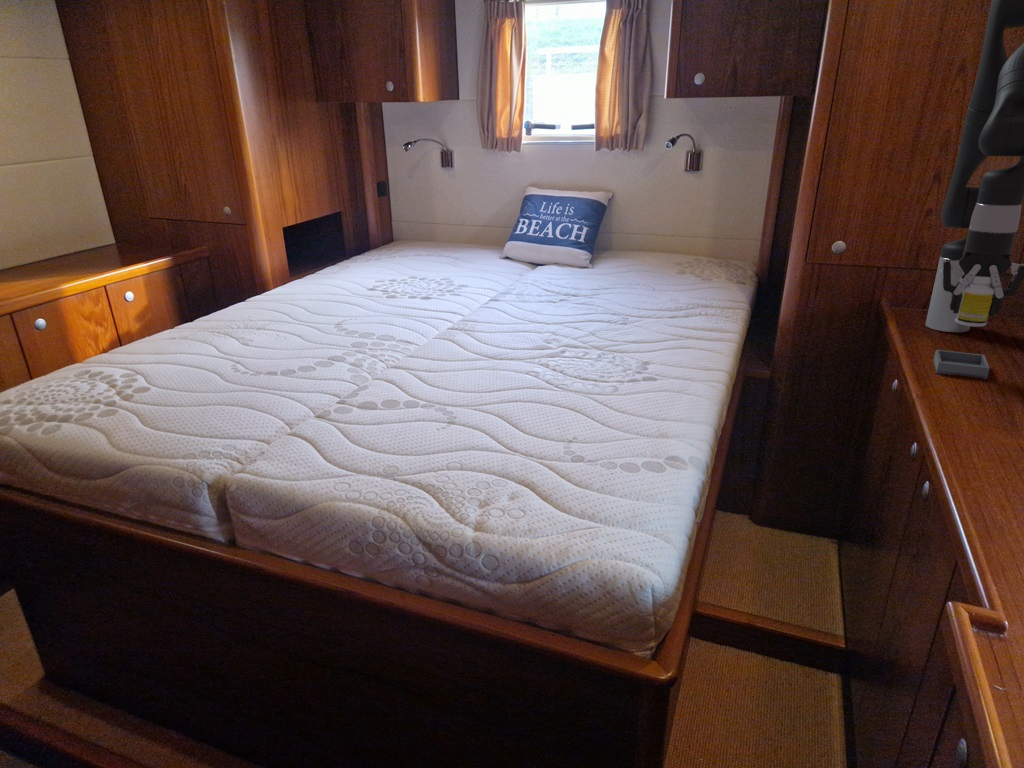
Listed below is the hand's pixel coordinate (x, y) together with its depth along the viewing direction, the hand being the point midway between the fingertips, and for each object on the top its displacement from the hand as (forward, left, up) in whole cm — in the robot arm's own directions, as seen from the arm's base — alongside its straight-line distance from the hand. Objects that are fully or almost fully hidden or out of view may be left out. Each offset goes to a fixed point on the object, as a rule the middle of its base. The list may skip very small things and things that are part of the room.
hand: (972, 313), depth 132 cm
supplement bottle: (0, 0, -2) cm, 2 cm away
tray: (0, 0, -12) cm, 12 cm away
